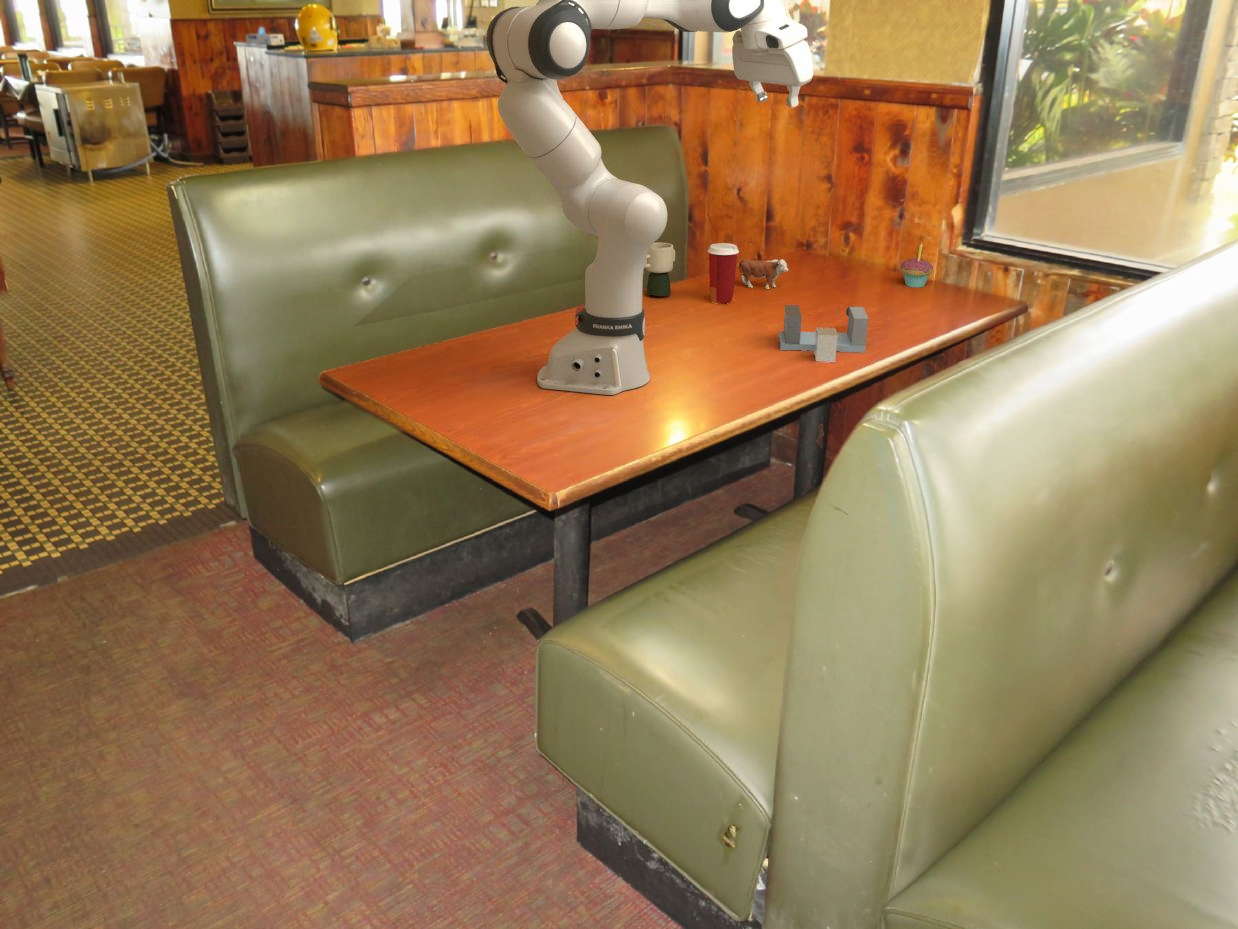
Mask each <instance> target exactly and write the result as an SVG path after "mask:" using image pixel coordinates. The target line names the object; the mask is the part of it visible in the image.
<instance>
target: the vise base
mask: <svg viewBox="0 0 1238 929" xmlns="http://www.w3.org/2000/svg"><path fill="white" fill-rule="evenodd" d="M845 315H846V316H847V317H848V318H847V329H846V332H837V335H838V337H837V348H836V351H840V352H839V353H859V354H861V353H864V354H865V353H866V346H867V336H868V326H869V316H868V314H867V312H866V309H865V308H864V307H863V306H854V305H850V306H848V307H847V308H846V310H845ZM815 335H816V331H801V333H800V344H786V343H785V337H784V330H781V331H778V343H780V344H779V350H780V351H782V350H801V351H800V352H808V351H807V350H811V351H810V352H814V348H815Z"/></svg>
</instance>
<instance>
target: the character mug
mask: <svg viewBox="0 0 1238 929" xmlns="http://www.w3.org/2000/svg"><path fill="white" fill-rule="evenodd" d="M675 261H676V249H674V245H673V243H669V242H660V241H659V242H654V243H653V244H652V246H651V247H650V250H649V252H648V255H647V258H646V262H645V266H644V269H646V271H648V272H650V273H649V274H648V278H647V285H646V295H650V296H653V298H655V297H668V296H670V295H671V294H672V290H671V280H670V275H669V273H670V272H672V271H673V269H674V262H675Z"/></svg>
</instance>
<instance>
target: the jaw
mask: <svg viewBox="0 0 1238 929" xmlns="http://www.w3.org/2000/svg"><path fill="white" fill-rule="evenodd" d="M801 313H802V312H801V307H800V305H798V304H785V305H784V318H783V331H784V337H785V343H786V344H800V333H801V332H802V331H801V330H802V319H803V316H802V314H801Z"/></svg>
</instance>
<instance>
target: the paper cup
mask: <svg viewBox="0 0 1238 929" xmlns="http://www.w3.org/2000/svg"><path fill="white" fill-rule="evenodd" d="M739 252H740V251H739V248H738V246H737V244H734V243H726V242H723V243H722V242H721V243H712V244H710V246H708V249H707V253H708V267H709V268H708V270H709V272H708V274H709V301H711V302H714V303H717V304H716V305H720V304H724V305H728V304H727V303H730V302H732V303H733V298H734V290H735V280H736V271H737V261H738V254H739ZM711 302H710V303H711ZM714 303H713V304H714ZM730 304H731V303H730Z"/></svg>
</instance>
